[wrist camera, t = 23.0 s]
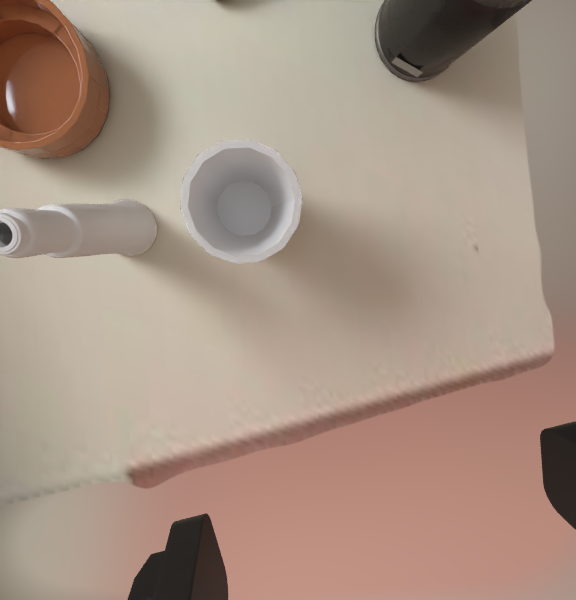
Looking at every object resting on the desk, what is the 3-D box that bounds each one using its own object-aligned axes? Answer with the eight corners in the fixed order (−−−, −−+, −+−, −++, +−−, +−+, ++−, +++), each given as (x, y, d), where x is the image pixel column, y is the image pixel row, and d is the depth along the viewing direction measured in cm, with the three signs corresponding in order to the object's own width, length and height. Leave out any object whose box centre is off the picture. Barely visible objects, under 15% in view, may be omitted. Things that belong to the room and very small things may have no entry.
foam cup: (189, 178, 41) (162, 158, 28) (271, 153, 41) (280, 122, 29) (218, 262, 43) (205, 279, 30) (296, 237, 43) (315, 244, 31)
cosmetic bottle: (162, 251, 42) (71, 282, 21) (107, 259, 42) (-44, 298, 20) (150, 195, 41) (41, 166, 19) (93, 203, 41) (-83, 182, 19)
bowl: (2, -16, 36) (-41, -58, 31) (133, 66, 38) (114, 41, 33) (-52, 112, 38) (-102, 94, 32) (77, 183, 40) (50, 177, 35)
